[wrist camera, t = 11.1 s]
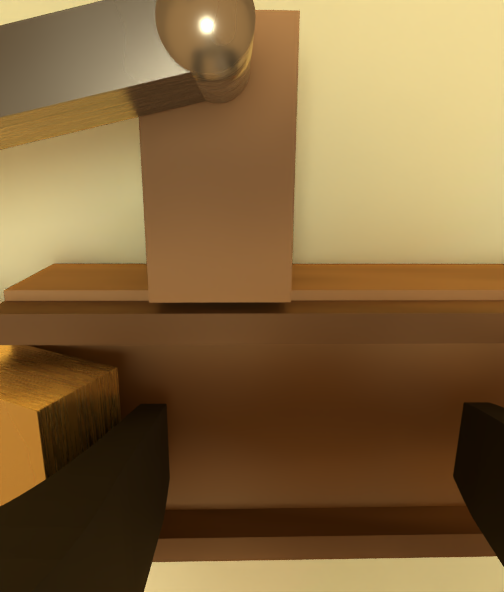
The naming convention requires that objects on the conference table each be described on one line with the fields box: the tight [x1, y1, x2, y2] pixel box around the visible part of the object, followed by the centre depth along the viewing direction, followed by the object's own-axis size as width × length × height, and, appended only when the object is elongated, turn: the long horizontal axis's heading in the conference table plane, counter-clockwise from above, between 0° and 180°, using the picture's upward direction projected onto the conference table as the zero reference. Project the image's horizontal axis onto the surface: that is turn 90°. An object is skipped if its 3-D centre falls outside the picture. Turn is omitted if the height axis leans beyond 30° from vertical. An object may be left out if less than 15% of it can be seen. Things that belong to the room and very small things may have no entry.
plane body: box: [0, 10, 504, 562], centre depth 12 cm, size 12×16×4 cm
